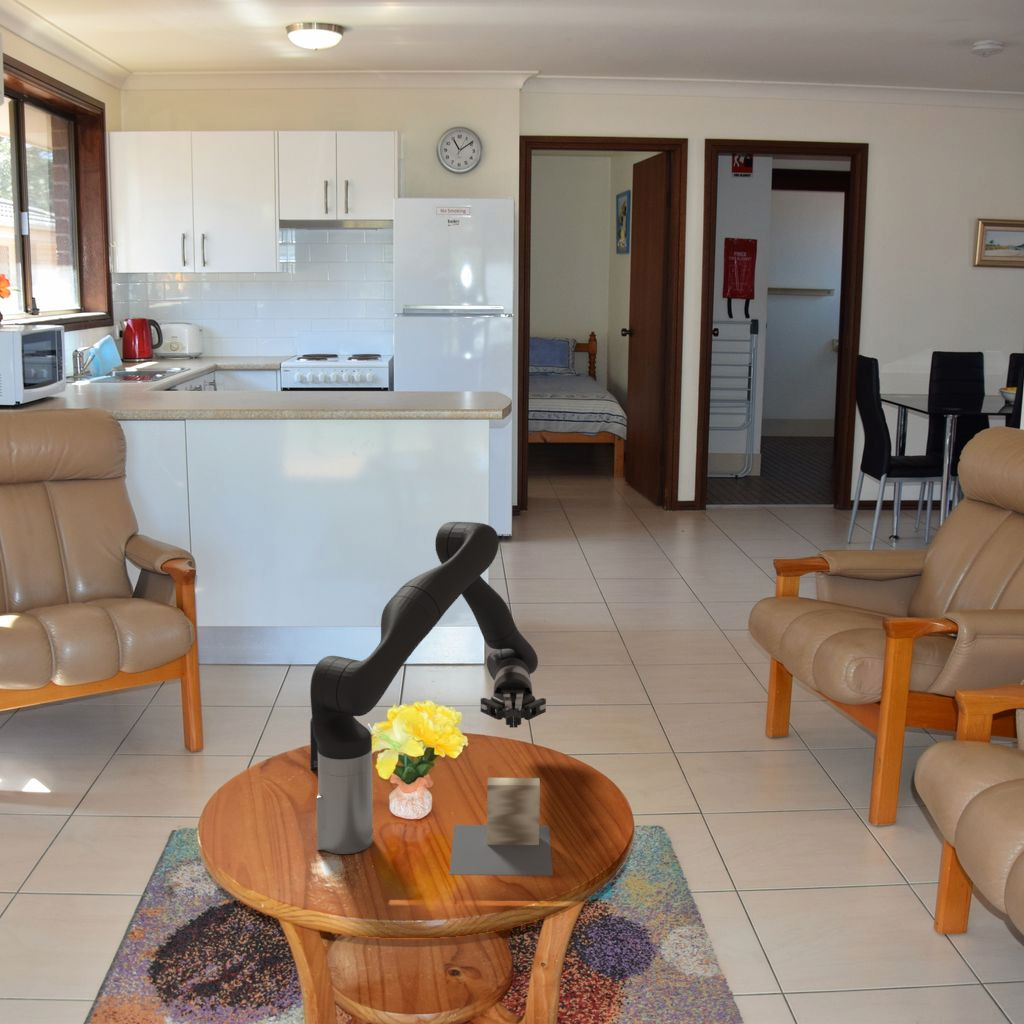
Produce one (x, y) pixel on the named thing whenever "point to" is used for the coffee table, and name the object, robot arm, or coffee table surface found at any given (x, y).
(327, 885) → the coffee table surface
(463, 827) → the rubber mat
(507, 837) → the green flat block
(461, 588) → the robot arm
